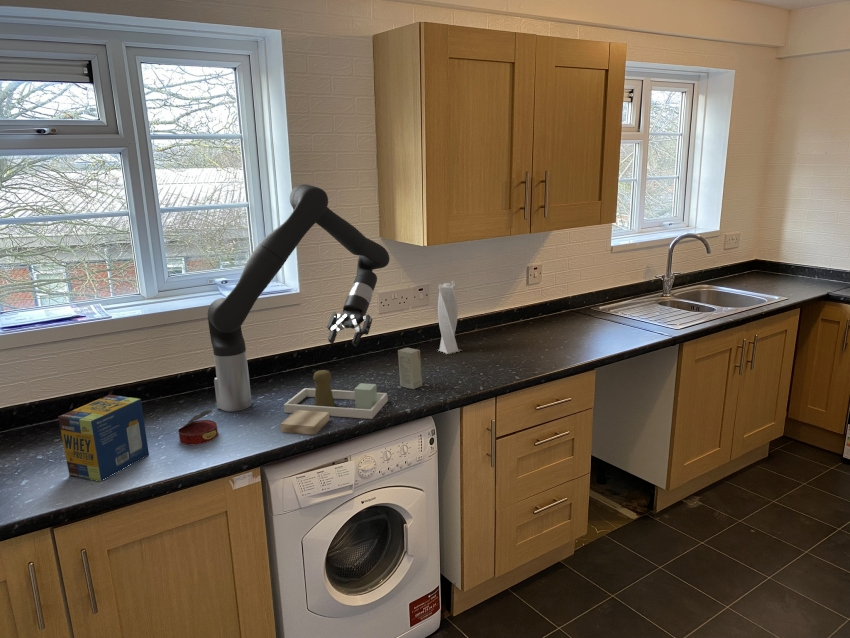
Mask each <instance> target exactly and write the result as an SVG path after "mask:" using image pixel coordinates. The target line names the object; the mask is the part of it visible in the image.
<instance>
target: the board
mask: <svg viewBox="0 0 850 638" xmlns="http://www.w3.org/2000/svg"><path fill="white" fill-rule="evenodd" d="M330 418H331V417H330V416H329V412H318V411H304V410H296V411H295V412H294V413H290V415H289V416H288V417H286V418H285V419H284V420H283V421H282V422H281V423H280V425H279V426H280V433H288V434H290V433H291V434H303V435H313V436H315V435H316V434H317V433H318V432H319V431H320V430H321V429H322V428H323V427H325V426H326V424H328V422H330V420H331V419H330Z"/></svg>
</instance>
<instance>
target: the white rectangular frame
mask: <svg viewBox="0 0 850 638" xmlns="http://www.w3.org/2000/svg"><path fill="white" fill-rule="evenodd" d="M315 389H316V388H307V387H305V388H303V389H301V390H300V391H299V392H297V394H295V395H294V396H293V397H292V398H290V399H289V400H288V401H287V402H285V403H284V404H283V411H284V413H286V414H293V413H294V412H295V411H296V410H304V411H318V412H329V417H339V418H341V417H342V418H356V419H369V420H373V419H374V417H375V416H376V415H377V414H378V413H379V412H380V411H381V409H382V408H383V407H384V406H385V405H386V404H387V402H388V393H387V392H377V403H376V404H375V405H374V406H373V407H372V408H371V409H370V410H369V409H356V407H354V408H353V407H352V408H351V407H340V406H339V407H338V406H334V407H326V406H315V405H309V404H299V403H301V402H302V401H304V399H305V398H309V397H310V398H315ZM331 390H332V395H333V399H336V400H337V399H339V400H350V401H351V400H352V401H355V392H354V390H343V389H342V390H340V389H331Z"/></svg>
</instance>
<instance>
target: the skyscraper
mask: <svg viewBox="0 0 850 638" xmlns="http://www.w3.org/2000/svg"><path fill="white" fill-rule="evenodd" d="M455 287H456V281H455V279H452V280H451V282H445V283H443V284H442V283H439V284H438V290H439V292H438V299H437V300H438V301H437V318H438V324H439V330H440V334H441V337H440V344H439V349H437V350H438V351H437V352H439V351H440V352H439V353H441V352H443V353H442V354H444V353H445V354H444V355H447V354H449V355H453V354H456V352H458V353H461V352H460V351H462V352H463V349H460V348H458V344H457V340H456V337H455V334H456V328H457V324H458V317H459V316H458V312H459V311H458V301H457V297H456V292H455ZM452 353H453V354H452Z"/></svg>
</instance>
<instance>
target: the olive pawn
mask: <svg viewBox="0 0 850 638" xmlns="http://www.w3.org/2000/svg"><path fill="white" fill-rule="evenodd" d="M331 379H332V374H331V372H330V371H329V370H326V369H320V370H317V371H315V372H314V373H313V381H314V382H315V388H314V389H315V397H314V406H326V407H336V406H335V405H336V404H335V400H334V399H335V398H333V395H332V390H333V389H332V386H331Z"/></svg>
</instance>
